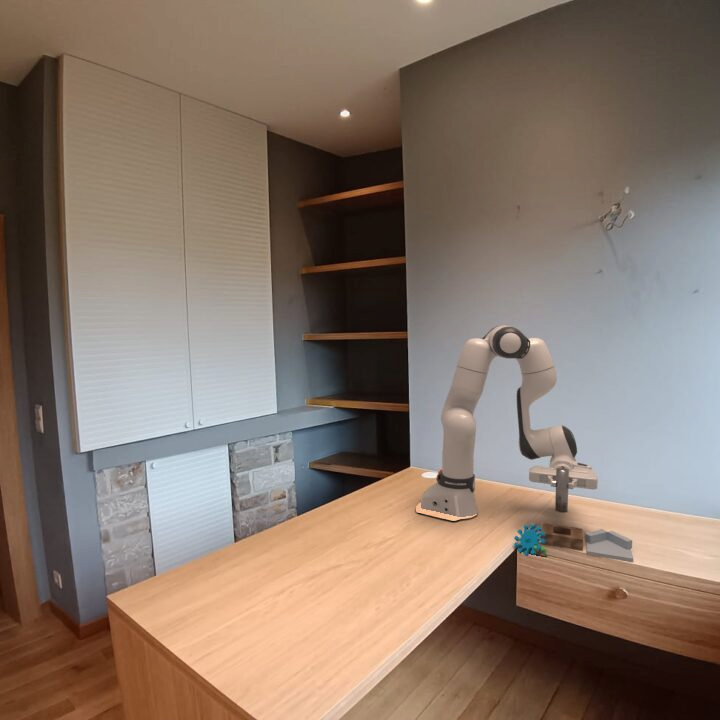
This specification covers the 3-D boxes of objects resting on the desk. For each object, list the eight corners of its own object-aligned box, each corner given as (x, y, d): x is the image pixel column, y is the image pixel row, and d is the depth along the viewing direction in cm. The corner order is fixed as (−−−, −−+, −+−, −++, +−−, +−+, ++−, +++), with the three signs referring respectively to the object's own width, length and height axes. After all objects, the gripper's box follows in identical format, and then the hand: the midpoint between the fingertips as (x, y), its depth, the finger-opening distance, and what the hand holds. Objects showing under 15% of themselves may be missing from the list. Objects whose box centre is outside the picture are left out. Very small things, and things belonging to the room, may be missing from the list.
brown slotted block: (540, 543, 149) (540, 533, 149) (542, 533, 157) (542, 522, 156) (583, 550, 145) (583, 539, 144) (582, 539, 152) (582, 528, 152)
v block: (585, 554, 143) (585, 542, 142) (584, 536, 153) (584, 526, 153) (634, 562, 137) (635, 550, 137) (630, 543, 148) (630, 532, 148)
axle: (554, 511, 149) (556, 470, 148) (555, 507, 152) (556, 467, 151) (567, 513, 147) (568, 472, 146) (567, 508, 151) (568, 468, 149)
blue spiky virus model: (506, 541, 148) (527, 516, 149) (516, 550, 151) (537, 526, 151) (530, 562, 138) (552, 536, 139) (540, 572, 141) (562, 546, 141)
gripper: (530, 459, 165) (526, 471, 152) (596, 466, 156) (598, 479, 144) (529, 477, 165) (526, 490, 153) (595, 485, 157) (598, 500, 144)
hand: (562, 485), depth 148 cm, fingers closed on axle, 4 cm apart
